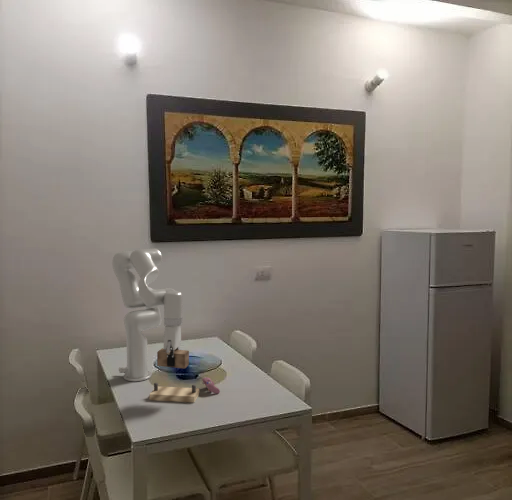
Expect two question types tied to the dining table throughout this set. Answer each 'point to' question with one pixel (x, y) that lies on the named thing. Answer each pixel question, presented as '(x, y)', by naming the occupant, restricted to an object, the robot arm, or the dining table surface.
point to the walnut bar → (179, 355)
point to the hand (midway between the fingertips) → (173, 363)
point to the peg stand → (174, 393)
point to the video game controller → (210, 385)
